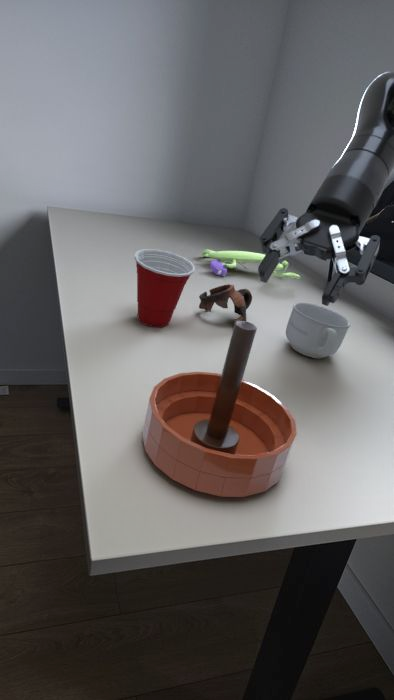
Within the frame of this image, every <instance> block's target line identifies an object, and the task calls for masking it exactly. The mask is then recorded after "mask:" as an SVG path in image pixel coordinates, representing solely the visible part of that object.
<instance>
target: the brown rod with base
mask: <svg viewBox="0 0 394 700" xmlns="http://www.w3.org/2000/svg"><path fill="white" fill-rule="evenodd" d="M257 327H258V326H256V325H255V324H254V323H251V322H249V321H247V320H246V321H237V322H235V323H234V326H233V329H232V332H231V335H230V336H231V337H230V342H229V344H228V347H227V352H226V356H225V361H224V364H223V367H222V371H221V373H220V374H221V378H220V382H219V386H218V390H217V393H216V397H215V401H214V405H213V409H212V412H211V416H210V419H207V420H202V421H199V422H197V423H196V424H195V426H194V428H193V432H192V436H191V441H192V442H194V443H196V444H198V445H200V446H203V447H205V448H208V449H212V450H216V451H220V452H224V453H228V454H235V452H236V449H237V446H238V442H239V435H238V433H237V431H236V430H235V429H234V428H233V427H232V426H230V425H229V424H230V421H231V417H232V414H233V410H234V407H235V403H236V400H237V396H238V393H239V389H240V386H241V382H242V380H244V379H243V378H244V376H245V372H246V368H247V364H248V360H249V358H250V354H251V351H252V347H253V345H254V340H255V337H256V334H257V330H258V328H257Z"/></svg>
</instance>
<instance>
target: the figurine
mask: <svg viewBox="0 0 394 700" xmlns="http://www.w3.org/2000/svg"><path fill="white" fill-rule="evenodd" d="M201 255H202V256H203V257H205V258H211V259H213V260H212V261H210V263H209V270H210V271H211V272H213V273H214V274H215V275H216V276H222V277H226V276H227V272H228V269H235V268H236V266H237V263H238V264H240V265H241V266H242V267H243V268H245V270H246V269H248V268H247V267H246V266H245V265H244V264H260V263H261V262H262V260H263V259H264V257H265V255H266V254H265V253H260V252H253V251H243V250H219V251H214V250H212V249H204V250H202V252H201ZM288 268H289V262H288V261H287V260H283V261H282V262H281V263H280V262H279V263H278V265H277V267H276V268H275V270H274V271H273V273H272V275H274V276H275V277H279V278H283V279H287V278H293V279H296V280H297V281H300V280H301V275H299V274H297V273H294V272H286V271H287V269H288ZM278 271H282V273H281V272H278Z"/></svg>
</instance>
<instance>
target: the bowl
mask: <svg viewBox="0 0 394 700" xmlns="http://www.w3.org/2000/svg"><path fill="white" fill-rule="evenodd" d="M221 374H222V373H217V372H208V371H207V372H206V371H190V372H189V371H188V372H180V373H177V374H174V375H173V374H172V375H170V376H168V377H165V378H163V379H162V380H160V382H158V383H156V385H155V386H154V387H153V388H152V391H151V393H150V396H149V399H148V404H147V408H146V415H145V420H144V425H143V430H142V434H141V435H142V440H143V447H144V451H145V452H146V454H147V455H148V457H149V458H150V460H151V462H152V463H153V464H154V466H156V468H158V469H159V470H160V471H162V473H164V474H165V475H166V476H167V477H169V478H170V479H171V480H173V481H175V482H177V483H178V484H181V485H183V486H185V487H187V488H189V489H192V490H193V491H196V492H201V493H205V494H209V495H212V496H216V497H222V498H223V497H224V498H225V497H227V498H228V497H229V498H231V497H232V498H233V497H234V498H244V497H249V496H252V495H256V494H260V493H263V492H266V491H268V490H269V489H270V488H272V486H274V485H276V484H277V483H278V482H279V481H280V479H281V476H282V475H283V472H284V471H285V468H286V465H287V462H288V459H289V457H290V454H291V451H292V448H293V446H294V442H295V440H296V437H297V434H298V432H297V426H296V419H295V418H294V416H293V414H292V413H291V412H290V410H289V408H288V407H287V406H286V405H285V404H283V402H281V401H280V400H279V399H278V398H277V397H275V395H274V394H271V393H270V392H268V391H267V390H265V389H263V388H261V387H260V386H258V385H257V384H253V383H251V382H249V381H246V380H244V379H242V382H241V386H240V389H239V393H238V396H237V400H236V403H235V407H234V410H233V414H232V417H231V421H230V424H229V425H230V426H232V427H233V428H234V429H235V430H236V431H237V433H238V435H239V442H238V446H237V449H236V452H235V454H228V453H224V452H220V451H216V450H212V449H208V448H205V447H203V446H200V445H198V444H196V443H194V442H192V441H191V436H192V432H193V428H194V426H195V424H196V423H197V422H199V421H202V420H207V419H210V416H211V412H212V409H213V405H214V401H215V397H216V393H217V390H218V386H219V382H220V378H221Z"/></svg>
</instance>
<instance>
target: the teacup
mask: <svg viewBox="0 0 394 700" xmlns="http://www.w3.org/2000/svg"><path fill="white" fill-rule="evenodd" d="M349 328H351V321H350V320H349V319H348V318H347V317H346V316H344V315H343V314H341V313H339V312H337V311H335V310H333V309H330V308H329V307H326V306H322V305H319V304H316V303H312V302H307V301H305V302H304V301H298V302H295V303H294V304H293V305H292V310H291V312H290V316H289V318H288V321H287V324H286V328H285V337H286V340H287V341H288V342H289V345H290V347H291V348H292V349H293V350H294V351H296V352H297V353H299V354H300V355H302V356H306V357H308V358H313V359H324V358H326V357H331V356H332V355H334V354H336V353H337V352H338V350H339V349H340V347H341V345H342V343H343V341H344V340H345V336H346V334H347V332H348V330H349Z"/></svg>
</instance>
